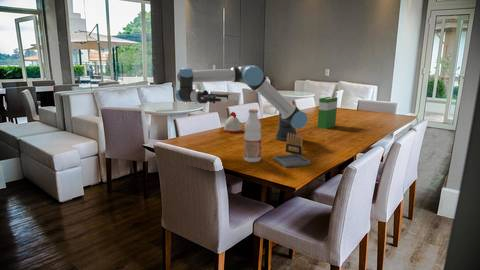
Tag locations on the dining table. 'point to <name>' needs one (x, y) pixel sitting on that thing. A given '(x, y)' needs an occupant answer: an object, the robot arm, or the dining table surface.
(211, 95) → the robot arm
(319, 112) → the green white box
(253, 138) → the white milk bottle
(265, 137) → the dining table surface
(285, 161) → the tray
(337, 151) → the dining table surface
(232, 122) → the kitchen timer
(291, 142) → the ammunition clip
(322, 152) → the dining table surface
